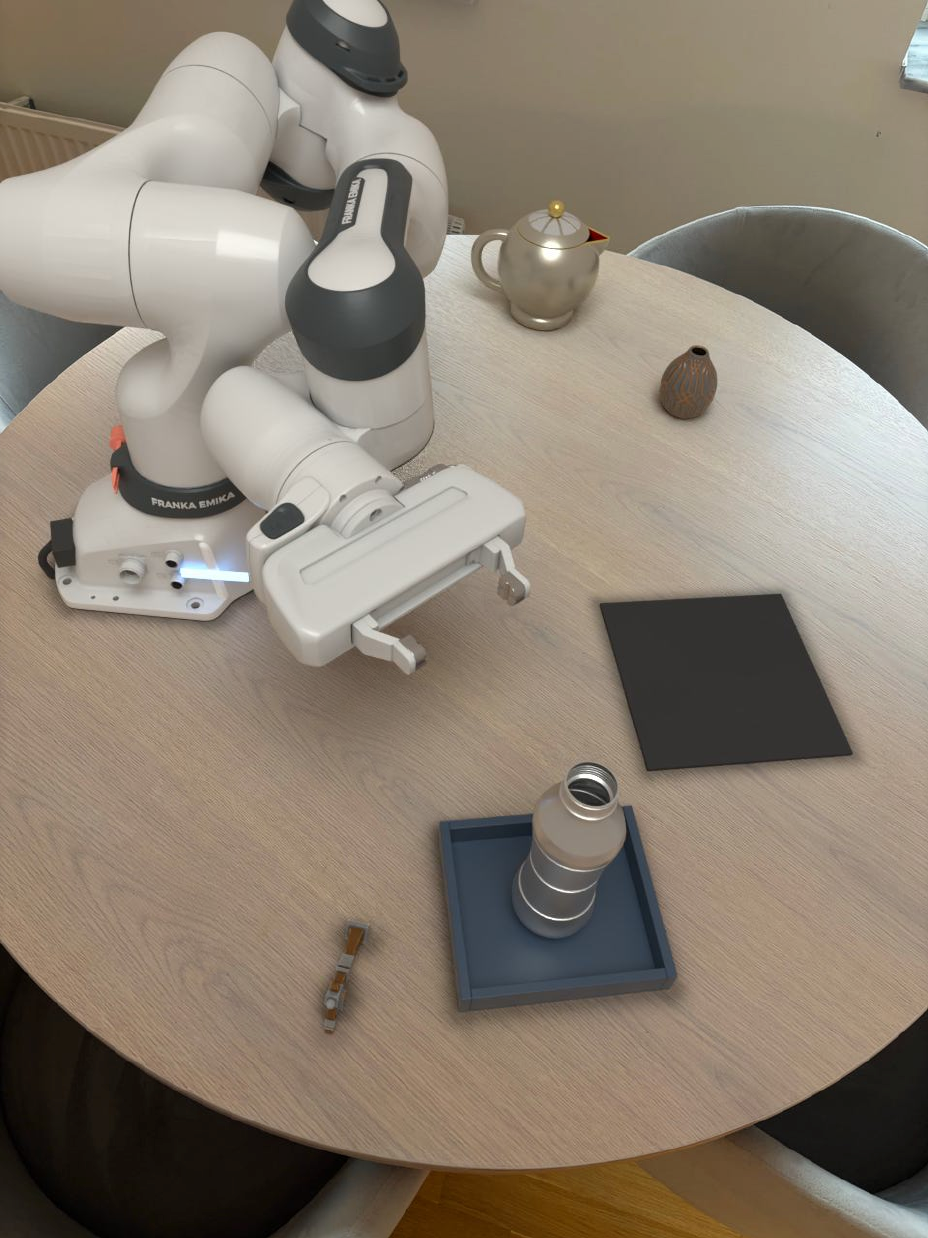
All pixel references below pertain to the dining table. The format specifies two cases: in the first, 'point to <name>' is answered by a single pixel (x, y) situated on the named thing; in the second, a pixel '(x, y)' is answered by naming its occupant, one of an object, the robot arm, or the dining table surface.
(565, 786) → the silver metal bottle
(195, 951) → the dining table surface
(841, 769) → the dining table surface
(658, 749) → the mat
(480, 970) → the tray
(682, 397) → the vase
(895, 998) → the dining table surface
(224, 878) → the dining table surface
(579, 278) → the teapot
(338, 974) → the wooden post with brackets
